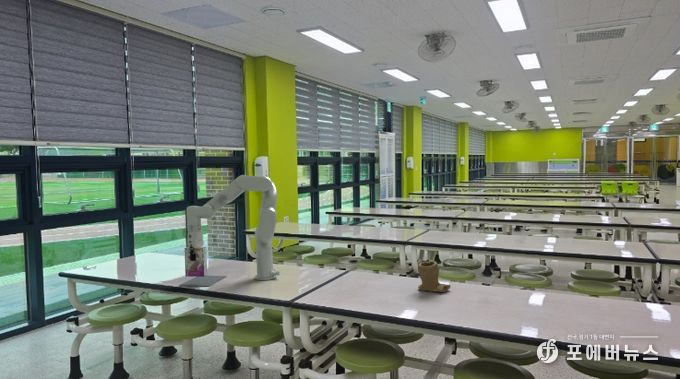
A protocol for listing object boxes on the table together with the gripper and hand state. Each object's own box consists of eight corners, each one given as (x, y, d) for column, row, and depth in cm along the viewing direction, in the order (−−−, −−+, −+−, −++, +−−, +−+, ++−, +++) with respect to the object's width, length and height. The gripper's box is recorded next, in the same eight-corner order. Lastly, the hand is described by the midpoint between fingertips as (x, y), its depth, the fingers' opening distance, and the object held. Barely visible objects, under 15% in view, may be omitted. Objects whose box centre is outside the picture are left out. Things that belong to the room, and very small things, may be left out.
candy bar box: (185, 276, 253) (183, 248, 252) (189, 274, 258) (187, 246, 257) (204, 276, 252) (203, 247, 251) (207, 274, 257) (206, 246, 256)
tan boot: (413, 292, 228) (413, 262, 227) (423, 286, 238) (422, 258, 237) (442, 296, 219) (442, 265, 218) (451, 289, 229) (450, 260, 228)
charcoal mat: (226, 276, 271) (226, 275, 271) (208, 286, 250) (208, 286, 250) (199, 276, 275) (199, 275, 275) (179, 286, 254) (179, 285, 254)
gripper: (192, 230, 244) (193, 263, 245) (208, 225, 261) (209, 256, 262) (179, 230, 246) (181, 262, 247) (196, 225, 263) (197, 256, 264)
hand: (195, 259), depth 255 cm, fingers closed on candy bar box, 5 cm apart
